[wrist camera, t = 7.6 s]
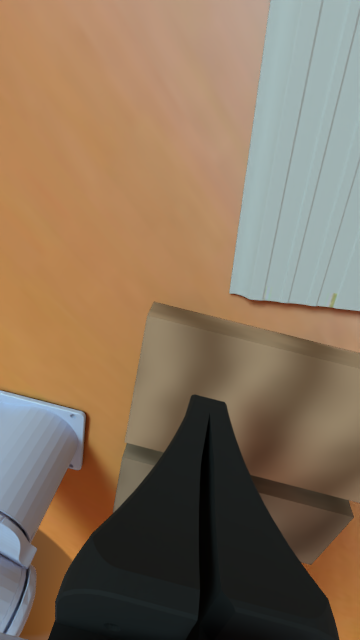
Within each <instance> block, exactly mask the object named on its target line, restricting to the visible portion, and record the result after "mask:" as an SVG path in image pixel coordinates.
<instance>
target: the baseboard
mask: <svg viewBox="0 0 360 640" xmlns="http://www.w3.org/2000/svg"><path fill="white" fill-rule="evenodd" d="M229 293H231V294H238V295H242V296H244V297H246V298H248V299H251V300H261V301H262V300H266V301H276V302H280V303H295V304H304V305H308V306H323V307H333V308H336V309H346V310H355V311H360V0H270V7H269V14H268V21H267V28H266V35H265V42H264V49H263V57H262V64H261V71H260V78H259V85H258V92H257V99H256V106H255V113H254V121H253V128H252V135H251V142H250V149H249V156H248V163H247V170H246V177H245V185H244V192H243V199H242V206H241V213H240V220H239V227H238V234H237V241H236V249H235V256H234V263H233V270H232V277H231V284H230V291H229Z"/></svg>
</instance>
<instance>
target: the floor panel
mask: <svg viewBox="0 0 360 640" xmlns="http://www.w3.org/2000/svg"><path fill="white" fill-rule="evenodd" d="M163 453H164V452H160V451H156V450H152V449H149V448H145V447H141V446H137V445H133V444H129V443H127V445H126V448H125V451H124V454H123V457H122V462H121V468H120V474H119V480H118V485H117V491H116V497H115V502H114V508H113V513H114V512H115V511H116V510H117V509H118V508H119V507H120V506H121V505H122V504H123V502H124V501H125V500H126V499H127V498H128V497H129V496H130V495H131V494H132V493H133V492H134V491H135V489H136V488H137V487H138V486H139V485H140V484H141V482H142V481H143V480H144V479H145V477H146V476H147V475H148V474H149V472H150V471H151V470H152V468H153V467H154V466H155V464H156V463H157V462H158V460H159V459H160V457H161V456H162V455H163ZM251 478H252V480H253V482H254V484H255V486H256V488H257V490H258V492H259V494H260V496H261V498H262V500H263V502H264V504H265V506H266V508H267V509H268V511H269V513H270V515H271V517H272V518H273V520H274V522H275V523H276V525H277V526H278V528H279V530H280V531H281V533H282V535H283V536H284V538H285V539H286V541H287V543H288V544H289V546H290V547H291V549H292V550H293V552H294V553H295V555H296V556H297V558H298V559H299V561H300V562H302V563H306V564H310V565H311V564H312V563H313V562H314V561H315V560H316V559H317V558H318V557H319V556H320V554H321V553H322V552H323V551H324V550H325V549H326V548H327V547H328V546H329V544H330V543H331V542H332V541H333V540H334V539H335V538H336V537H337V536H338V534H339V533H340V532H341V531H342V530H343V529H344V528H345V527H346V526H347V525H348V523H349V522H350V521H351V520H352V519H353V518H354V516H353V513H352V510H351V507H350V504H349V500H346V499H342V498H338V497H334V496H330V495H327V494H323V493H319V492H315V491H311V490H307V489H303V488H299V487H296V486H292V485H288V484H284V483H280V482H276V481H272V480H269V479H265V478H261V477H257V476H253V475H251Z"/></svg>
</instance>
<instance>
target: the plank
mask: <svg viewBox="0 0 360 640" xmlns="http://www.w3.org/2000/svg"><path fill="white" fill-rule="evenodd" d="M194 394H195V395H199V396H203V397H207V398H211V399H215V400H219V401H223V402H225V403H226V405H227V409H228V413H229V417H230V421H231V424H232V428H233V431H234V434H235V437H236V440H237V443H238V445H239V448H240V451H241V454H242V456H243V459H244V461H245V464H246V466H247V468H248V471H249V473H250V475H253V476H257V477H261V478H265V479H269V480H272V481H276V482H280V483H284V484H288V485H292V486H296V487H299V488H303V489H307V490H311V491H315V492H319V493H323V494H327V495H330V496H334V497H338V498H342V499H346V500H350V501H354V502H357V503H360V353H357V352H353V351H349V350H345V349H341V348H337V347H333V346H329V345H325V344H321V343H317V342H313V341H309V340H305V339H301V338H297V337H293V336H289V335H285V334H281V333H277V332H273V331H269V330H265V329H261V328H257V327H253V326H249V325H245V324H241V323H237V322H233V321H229V320H225V319H221V318H217V317H213V316H209V315H205V314H201V313H197V312H193V311H189V310H185V309H181V308H177V307H173V306H169V305H165V304H161V303H157V302H154V303H153V305H152V307H151V309H150V311H149V313H148V315H147V320H146V326H145V331H144V337H143V343H142V348H141V354H140V359H139V365H138V371H137V376H136V382H135V387H134V393H133V399H132V404H131V410H130V415H129V421H128V427H127V432H126V438H125V443H129V444H133V445H137V446H141V447H145V448H149V449H152V450H156V451H160V452H165V450H166V449H167V447H168V445H169V444H170V442H171V441H172V439H173V437H174V436H175V434H176V432H177V430H178V428H179V427H180V425H181V423H182V421H183V419H184V417H185V414H186V411H187V407H188V404H189V401H190V398H191V396H192V395H194Z"/></svg>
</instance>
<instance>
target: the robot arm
mask: <svg viewBox="0 0 360 640" xmlns="http://www.w3.org/2000/svg"><path fill="white" fill-rule="evenodd" d="M85 422H86V415H85V413H84V412H82V411H79V410H75V409H71V408H67V407H63V406H59V405H55V404H52V403H48V402H44V401H40V400H36V399H32V398H28V397H24V396H20V395H17V394H13V393H9V392H5V391H1V390H0V640H27V639H23V638H20V637H19V635H20V633H21V631H22V629H23V627H24V625H25V623H26V621H27V618H28V616H29V613H30V610H31V608H32V604H33V601H34V597H35V591H36V570H35V568H34V566H32V565H31V561H32V559H33V557H34V555H35V553H36V551H37V548H35V547H34V546H33V545H32V544H31V542H32V540H33V538H34V535H35V533H36V532H37V529H38V527H39V525H40V523H41V521H42V519H43V517H44V515H45V513H46V511H47V509H48V507H49V505H50V503H51V501H52V499H53V497H54V495H55V493H56V491H57V489H58V487H59V485H60V483H61V481H62V479H63V477H64V475H65V473H66V471H67V469H68V468H70V469H74V470H80V469H81V467H82V462H83V448H84V435H85ZM55 604H56V605H55V622H54V625H53V628H52V631H51V633H50V636H49V639H48V640H339V636H338V631H337V627H336V624H335V620H334V617H333V613H332V610H331V607H330V604H329V600H328V598H327V597H326V596H325V594H324V593H323V592H322V590H321V589H320V588H319V587H318V585H317V584H316V583H315V581H314V580H313V579H312V577H311V576H310V575H309V573H308V572H307V571H306V569H305V568H304V566H303V565H302V564H301V562H300V561H299V559H298V558H297V556H296V555H295V553H294V552H293V550H292V549H291V547H290V546H289V544H288V543H287V541H286V539H285V538H284V536H283V535H282V533H281V531H280V530H279V528H278V526H277V525H276V523H275V522H274V520H273V518H272V517H271V515H270V513H269V511H268V509H267V508H266V506H265V504H264V502H263V500H262V498H261V496H260V494H259V492H258V490H257V488H256V486H255V484H254V482H253V480H252V478H251V475H250V473H249V471H248V468H247V466H246V464H245V461H244V459H243V456H242V454H241V451H240V448H239V445H238V443H237V440H236V437H235V434H234V431H233V428H232V424H231V421H230V417H229V413H228V409H227V405H226V403H225V402H223V401H219V400H215V399H211V398H207V397H203V396H199V395H195V394H194V395H192V396H191V398H190V401H189V404H188V407H187V411H186V414H185V417H184V419H183V421H182V423H181V425H180V427H179V428H178V430H177V432H176V434H175V436H174V437H173V439H172V441H171V442H170V444H169V445H168V447H167V449H166V450H165V452H164V453H163V455H162V456H161V457H160V459H159V460H158V462H157V463H156V464H155V466H154V467H153V468H152V470H151V471H150V472H149V474H148V475H147V476H146V477H145V479H144V480H143V481H142V482H141V484H140V485H139V486H138V487H137V488H136V489H135V491H134V492H133V493H132V494H131V495H130V496H129V497H128V498H127V499H126V500H125V501H124V502H123V504H122V505H121V506H120V507H119V508H118V509H117V510H116V511H115V512H114V513H113V514H112V515H111V516H110V517H109V518H108V519H107V520H106V521H105V522H104V523H103V524H102V525H101V526H99V527H98V528H97V529H96V530H95V531H94V532H93V533H92V534H91V536H90V537H89V539H88V540H87V542H86V543H85V544H84V546H83V547H82V548H81V550H80V551H79V553H78V554H77V556H76V557H75V559H74V560H73V562H72V564H71V565H70V567H69V568H68V570H67V572H66V574H65V576H64V579H63V581H62V584H61V587H60V590H59V593H58V595H57V598H56V601H55Z"/></svg>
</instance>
